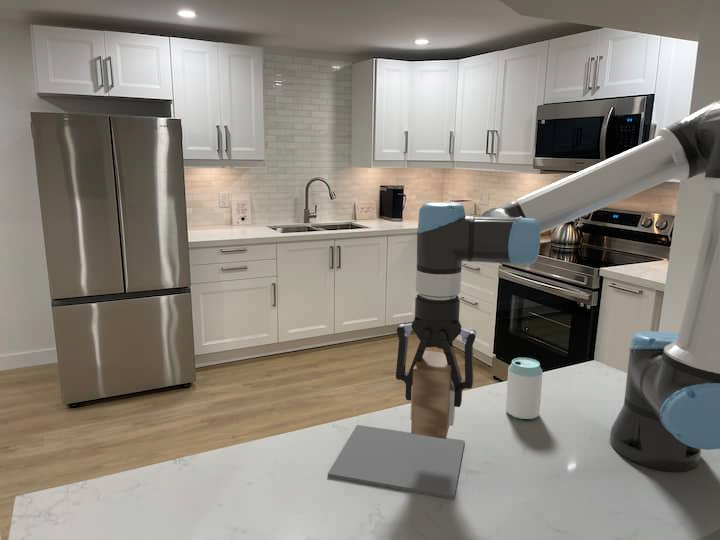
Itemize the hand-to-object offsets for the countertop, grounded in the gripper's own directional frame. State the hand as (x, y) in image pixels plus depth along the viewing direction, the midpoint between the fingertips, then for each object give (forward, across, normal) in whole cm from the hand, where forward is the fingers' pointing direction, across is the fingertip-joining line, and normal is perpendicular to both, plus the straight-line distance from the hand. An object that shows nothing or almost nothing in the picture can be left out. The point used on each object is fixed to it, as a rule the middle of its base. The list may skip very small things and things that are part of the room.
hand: (432, 419), depth 94 cm
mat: (+9, +6, 0) cm, 11 cm away
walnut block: (+1, 0, 0) cm, 1 cm away
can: (+9, -16, -25) cm, 31 cm away
